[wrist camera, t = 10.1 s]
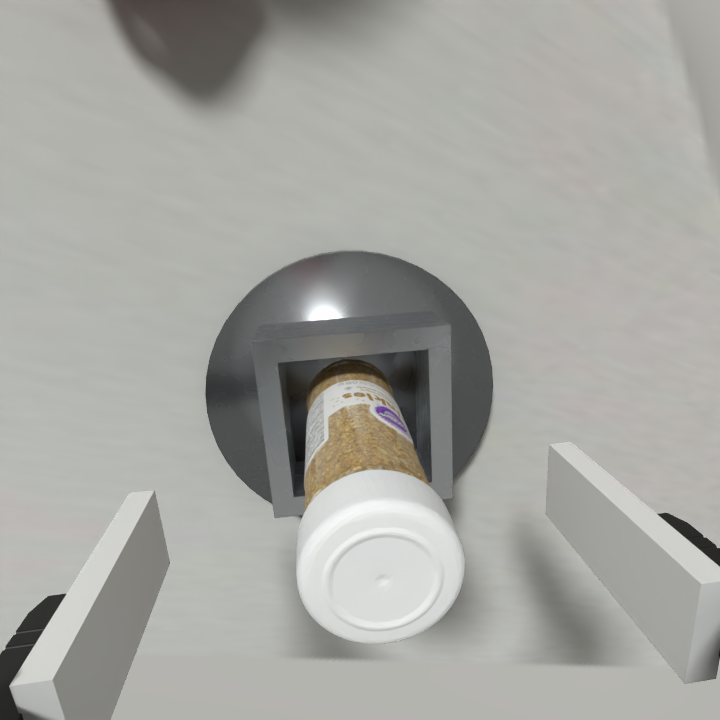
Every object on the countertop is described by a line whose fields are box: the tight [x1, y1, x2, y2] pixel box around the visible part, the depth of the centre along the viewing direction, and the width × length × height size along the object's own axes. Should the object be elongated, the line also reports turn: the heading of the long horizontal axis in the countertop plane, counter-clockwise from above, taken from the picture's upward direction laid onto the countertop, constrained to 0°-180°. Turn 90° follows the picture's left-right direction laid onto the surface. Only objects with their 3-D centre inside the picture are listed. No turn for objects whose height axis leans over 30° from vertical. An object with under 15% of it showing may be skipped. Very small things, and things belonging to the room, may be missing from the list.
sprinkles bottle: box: [296, 360, 465, 644], centre depth 19 cm, size 5×5×14 cm
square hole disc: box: [206, 251, 493, 518], centre depth 24 cm, size 15×15×4 cm
